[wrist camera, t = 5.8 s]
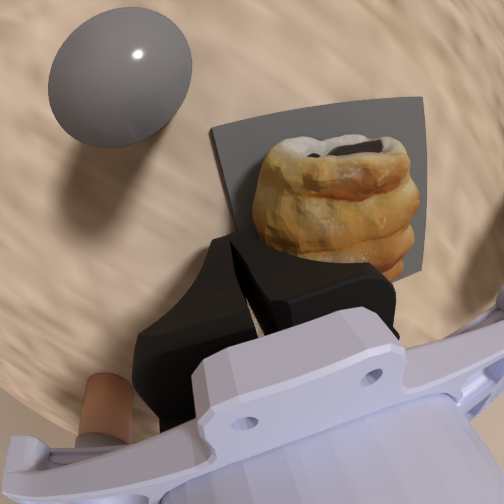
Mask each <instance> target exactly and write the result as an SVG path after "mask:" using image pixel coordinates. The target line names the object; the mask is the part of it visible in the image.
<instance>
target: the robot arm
mask: <svg viewBox="0 0 504 504" xmlns="http://www.w3.org/2000/svg"><path fill="white" fill-rule="evenodd" d="M246 298H247V300H248V302H249V304H250V306H251V309H252V311H253V313H254V315H255V317H256V319H257V321H258V323H259V325H260V327H261V329H262V331H263V333H264V335H265V336H264V337H260V338H258V336H257V332H256V329H255V326H254V323H253V320H252V317H251V314H250V311H249V308H248V305H247V300H246ZM395 306H396V292H395V289H394V287H393V284H392V283H391V282H390V281H389V280H388V279H387V278H386V277H385V276H384V275H383V274H382V273H381V272H380V271H379V270H378V269H376V268H375V267H374V266H373V265H372V264H370V263H369V262H362V263H333V262H322V261H315V260H310V259H304V258H300V257H296V256H293V255H290V254H286V253H284V252H281V251H278V250H276V249H274V248H271V247H269V246H267V245H265V244H263V243H262V242H260V241H258V240H256V239H255V238H253V237H252V236H250V235H248V234H247V233H245V232H243V231H240V232H236V233H233V234H230V235H226V236H223V237H220V238H216V239H213V240H212V241H211V243H210V248H209V251H208V254H207V257H206V259H205V262H204V264H203V266H202V268H201V270H200V272H199V274H198V276H197V278H196V280H195V281H194V283H193V284H192V286H191V287H190V289H189V290H188V291H187V293H186V294H185V295H184V296H183V297H182V298H181V299H180V300H179V302H178V303H177V304H176V305H175V306H174V307H173V308H172V309H171V310H170V311H169V312H167V313H166V314H165V315H164V316H163V317H162V318H160V319H159V320H158V321H157V322H155V323H154V324H152V325H151V326H149V327H148V328H147V329H145V330H144V331H142V332H141V333H139V334H138V337H137V342H136V345H135V351H134V357H133V369H132V382H133V387H134V388H135V390H136V392H137V393H138V395H139V396H140V397H141V398H142V400H143V401H144V402H145V403H146V404H147V405H148V406H149V408H150V409H151V410H152V411H153V412H154V413H155V414H156V415H157V417H158V418H159V422H160V434H157V435H155V436H152V437H150V438H147V439H145V440H142V441H139V442H137V443H134V444H128V445H118V446H106V447H90V448H50V447H49V446H48V445H47V444H45V443H44V442H43V441H42V440H40V439H38V438H36V437H34V436H25V435H12V436H11V440H10V444H9V449H8V453H7V459H6V464H5V469H4V476H3V482H2V489H1V492H2V493H3V494H4V495H5V496H7V497H9V498H10V499H12V500H14V501H16V502H18V503H20V504H504V472H503V471H502V469H501V468H500V466H499V465H498V463H497V461H496V460H495V458H494V457H493V455H492V454H491V453H490V451H489V449H488V448H487V447H486V445H485V444H484V442H483V441H482V439H481V438H480V436H479V435H478V434H477V432H476V431H475V429H474V428H473V427H472V425H471V424H470V421H471V420H472V419H474V418H475V417H476V416H477V415H478V414H479V413H480V412H481V411H483V410H484V409H485V408H486V407H487V406H488V405H489V404H490V403H491V402H492V401H493V400H494V399H495V398H496V397H498V396H499V395H500V394H501V393H502V392H503V391H504V285H503V286H502V287H501V289H500V290H499V293H498V295H497V298H496V304H495V305H494V306H492V307H491V308H489V309H488V310H487V311H485V312H484V313H482V314H481V315H479V316H478V317H476V318H475V319H473V320H472V321H470V322H469V323H467V324H466V325H464V326H463V327H461V328H460V329H458V330H456V331H455V332H453V333H452V334H450V335H448V336H447V337H445V338H443V339H442V340H438V341H435V342H431V343H427V344H423V345H419V346H415V347H411V348H407V349H405V348H404V347H403V345H402V344H401V343H400V342H399V338H400V336H399V334H398V332H397V331H396V330H395V329H394V328H393V322H394V314H395Z"/></svg>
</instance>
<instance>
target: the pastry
mask: <svg viewBox="0 0 504 504" xmlns="http://www.w3.org/2000/svg"><path fill="white" fill-rule="evenodd" d="M410 163H411V162H410V159H409V157H408V155H407V152H406V150H405V148H404V146H403V145H402V143H401V142H400V141H398V140H396V139H393V138H392V137H381V138H376V139H369V138H366V137H365V136H363V135H357V134H353V135H343V136H340V137H333V138H330V139H326V140H324V141H318V140H316V139H314V138H310V137H303V136H301V137H297V138H291V139H284V140H283V141H281V142H279V143H278V144H276V145H275V146H273V147H272V148H271V149H270V150H269V151H268V153H267V155H266V157H265V159H264V161H263V163H262V166H261V169H260V173H259V177H258V184H257V188H256V192H255V197H254V201H253V206H252V214H253V221H254V223H255V226H256V229H257V231H258V234H259V239H260V242H262V243H263V244H265V245H267V246H269V247H271V248H274V249H276V250H278V251H281V252H284V253H286V254H290V255H293V256H296V257H300V258H304V259H310V260H315V261H322V262H333V263H362V262H369V263H370V264H372V265H373V266H374V267H375V268H376V269H378V270H379V271H380V272H381V273H382V274H383V275H384V276H385V277H386V278H387V279H388V280H389V281H390V282H391V283H392V281H393V280H394V279H395V278H397V277H398V276H400V275H401V274H402V272H403V268H404V266H403V256H404V255H405V254H406V252H407V251H409V250H410V248H411V247H412V246H413V244H414V242H415V237H414V232H413V229H412V227H411V225H410V221H411V219H412V217H413V216H414V214H415V213H416V212H417V210H418V209H419V207H420V194H419V191H418V189H417V187H416V185H415V183H414V182H413V181H412V179H411V176H410V174H409V172H410Z"/></svg>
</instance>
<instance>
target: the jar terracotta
mask: <svg viewBox="0 0 504 504" xmlns="http://www.w3.org/2000/svg"><path fill="white" fill-rule="evenodd" d="M132 415H133V388H132V386H131V385H130V384H129V383H128V382H127V381H126V380H124V379H122V378H120V377H118V376H116V375H112V374H106V373H99V374H94V375H92V376H90V377H89V378H88V380H87V384H86V389H85V394H84V400H83V406H82V412H81V419H80V426H79V433H78V436H77V438H76V442H75V448H90V447H106V446H118V445H128V444H132Z"/></svg>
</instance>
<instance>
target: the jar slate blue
mask: <svg viewBox="0 0 504 504" xmlns="http://www.w3.org/2000/svg"><path fill="white" fill-rule="evenodd" d="M191 74H192V58H191V52H190V48H189V45H188V42H187V40H186V38H185V36H184V34H183V33H182V32H181V30H180V29H179V28H178V27H177V26H176V25H175V24H174V23H173V22H172V21H171V20H170V19H168V18H167V17H166V16H164V15H162V14H160V13H158V12H155V11H153V10H150V9H145V8H140V7H123V8H117V9H112V10H109V11H106V12H103V13H100V14H98V15H96V16H94V17H92V18H90V19H89V20H87V21H86V22H84V23H83V24H82V25H80V26H79V27H78V28H77V29H76V30H74V31H73V32H72V33H71V34H70V35H69V37H68V38H67V39H66V40H65V42H64V43H63V44H62V46H61V47H60V49H59V51H58V52H57V55H56V57H55V59H54V61H53V64H52V67H51V70H50V75H49V82H48V96H49V101H50V106H51V109H52V112H53V114H54V116H55V118H56V120H57V121H58V123H59V124H60V126H61V127H62V128H63V129H64V130H65V131H66V132H67V133H68V134H69V135H70V136H72V137H73V138H75V139H76V140H78V141H80V142H82V143H85V144H87V145H90V146H95V147H101V148H117V147H123V146H127V145H131V144H134V143H136V142H139V141H141V140H144V139H145V138H147V137H149V136H151V135H152V134H154V133H155V132H156V131H158V130H159V129H161V128H162V127H163V126H164V125H165V124H166V123H167V122H168V121H169V120H170V119H171V118H172V117H173V116H174V115H175V114H176V112H177V111H178V109H179V108H180V107H181V105H182V103H183V101H184V99H185V97H186V94H187V92H188V89H189V84H190V81H191Z"/></svg>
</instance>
